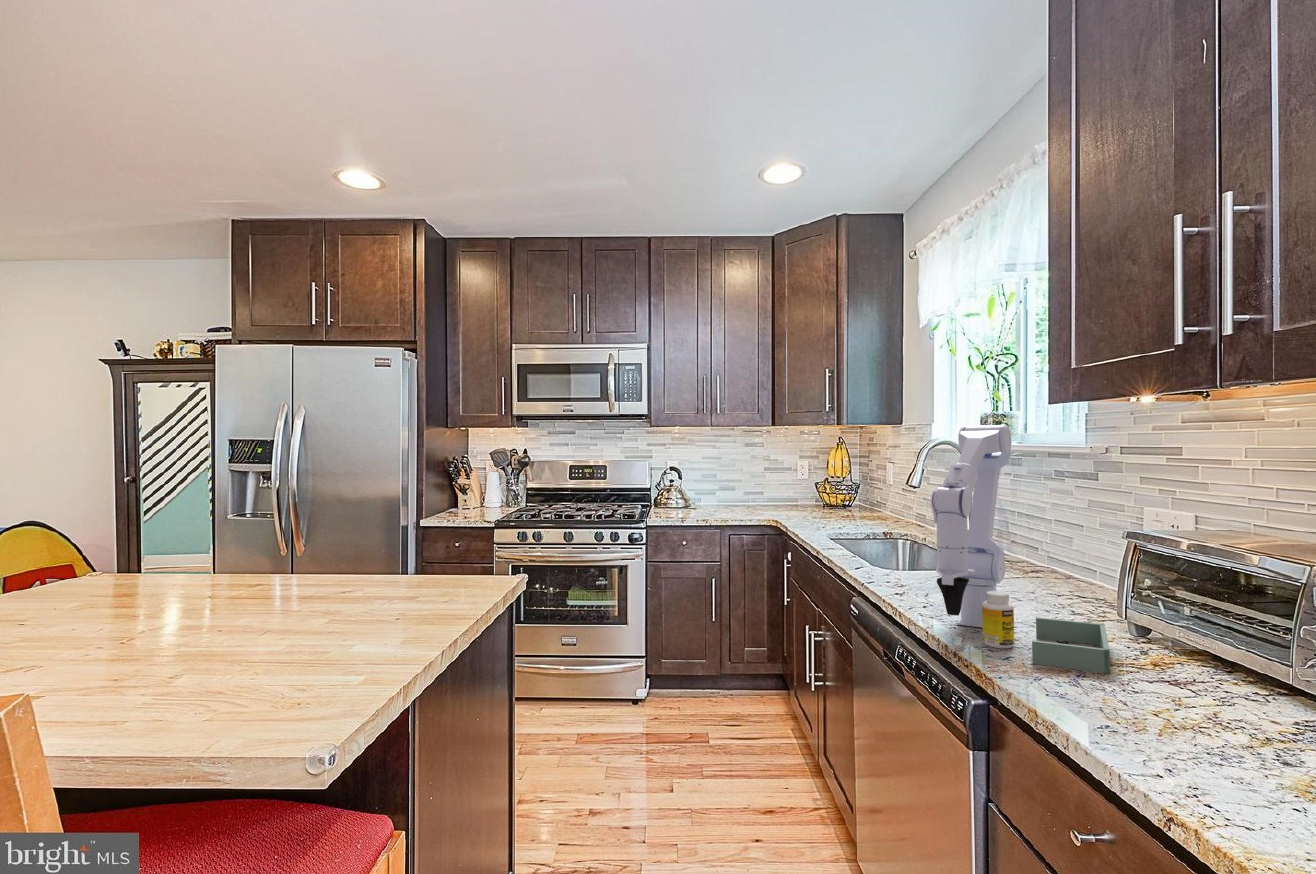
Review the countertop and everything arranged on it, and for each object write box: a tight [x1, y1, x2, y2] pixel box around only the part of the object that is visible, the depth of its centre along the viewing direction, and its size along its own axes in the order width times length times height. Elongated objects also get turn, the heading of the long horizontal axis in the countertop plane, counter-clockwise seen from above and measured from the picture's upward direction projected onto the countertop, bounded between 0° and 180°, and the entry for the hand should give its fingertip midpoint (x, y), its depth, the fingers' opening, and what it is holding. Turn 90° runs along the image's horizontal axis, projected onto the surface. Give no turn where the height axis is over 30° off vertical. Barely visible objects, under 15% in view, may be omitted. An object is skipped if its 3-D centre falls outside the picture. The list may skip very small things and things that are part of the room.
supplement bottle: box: [981, 590, 1015, 649], centre depth 133 cm, size 6×6×10 cm
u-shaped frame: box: [1031, 616, 1111, 675], centre depth 127 cm, size 19×12×4 cm, turn 149°
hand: (953, 614), depth 137 cm, fingers closed
